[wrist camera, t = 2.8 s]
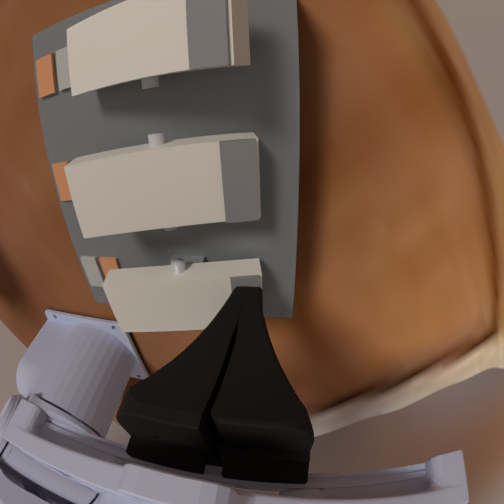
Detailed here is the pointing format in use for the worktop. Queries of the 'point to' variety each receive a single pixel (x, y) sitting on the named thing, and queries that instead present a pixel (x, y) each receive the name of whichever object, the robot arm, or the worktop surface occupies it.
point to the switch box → (187, 126)
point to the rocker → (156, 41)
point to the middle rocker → (167, 184)
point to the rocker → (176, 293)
